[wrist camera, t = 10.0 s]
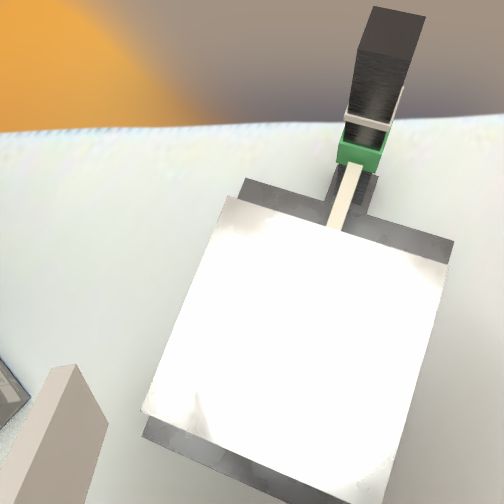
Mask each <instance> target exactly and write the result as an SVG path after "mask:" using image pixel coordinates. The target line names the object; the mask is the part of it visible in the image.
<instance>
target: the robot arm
mask: <svg viewBox="0 0 504 504" xmlns="http://www.w3.org/2000/svg"><path fill="white" fill-rule="evenodd" d="M108 424H109V423H108V422H107V420H106V418H105V416H104V414H103V412H102V411H101V409H100V407H99V405H98V403H97V401H96V400H95V398H94V396H93V394H92V392H91V390H90V389H89V387H88V385H87V383H86V381H85V379H84V378H83V376H82V374H81V372H80V370H79V368H78V367H77V365H76V364H72V365H66V366H60V367H55V368H52V369H51V371H50V373H49V375H48V377H47V379H46V381H45V383H44V385H43V387H42V389H41V390H40V392H39V394H38V396H37V398H36V400H35V402H34V404H33V406H32V408H31V410H30V412H29V414H28V416H27V418H26V420H25V422H24V424H23V426H22V428H21V430H20V432H19V434H18V436H17V438H16V439H15V441H14V443H13V445H12V447H11V449H10V451H9V453H8V455H7V457H6V459H5V461H4V463H3V465H2V467H1V469H0V504H84V502H85V499H86V496H87V493H88V489H89V486H90V483H91V480H92V476H93V473H94V470H95V467H96V463H97V460H98V457H99V454H100V450H101V447H102V444H103V441H104V437H105V434H106V431H107V428H108Z"/></svg>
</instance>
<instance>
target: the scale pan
mask: <svg viewBox="0 0 504 504" xmlns="http://www.w3.org/2000/svg"><path fill="white" fill-rule="evenodd" d="M362 168H363V166H362V165H359V164H355V163H352V162H348V165H347V168H346V171H345V174H344V177H343V179H342V182H341V185H340V188H339V191H338V194H337V196H336V199H335V202H334V205H333V208H332V211H331V213H330V216H329V219H328V222H327V225H326V227H325V226H322V225H319V224H316V223H313V222H310V221H306V220H303V219H300V218H297V217H294V216H291V215H287V214H284V213H281V212H278V211H275V210H272V209H268V208H265V207H262V206H259V205H256V204H253V203H249V202H246V201H243V200H240V199H237V198H234V197H230V196H227V199H226V201H225V204H224V206H223V209H222V211H221V214H220V216H219V218H218V221H217V223H216V226H215V228H214V231H213V233H212V236H211V238H210V240H209V243H208V245H207V248H206V250H205V253H204V255H203V258H202V260H201V263H200V265H199V267H198V270H197V272H196V275H195V277H194V280H193V282H192V285H191V287H190V290H189V292H188V294H187V297H186V299H185V302H184V304H183V307H182V309H181V312H180V314H179V317H178V319H177V321H176V324H175V326H174V329H173V331H172V334H171V336H170V339H169V341H168V344H167V346H166V348H165V351H164V353H163V356H162V358H161V361H160V363H159V366H158V368H157V370H156V373H155V375H154V378H153V380H152V383H151V385H150V388H149V390H148V393H147V395H146V397H145V400H144V402H143V405H142V407H141V410H140V411H142V412H144V413H146V414H148V415H151V416H153V417H155V418H158V419H160V420H162V421H164V422H167V423H169V424H171V425H173V426H176V427H178V428H180V429H183V430H185V431H187V432H189V433H192V434H194V435H196V436H198V437H201V438H203V439H205V440H208V441H210V442H212V443H214V444H217V445H219V446H221V447H223V448H226V449H228V450H230V451H232V452H235V453H237V454H239V455H242V456H244V457H246V458H248V459H251V460H253V461H255V462H257V463H260V464H262V465H264V466H267V467H269V468H271V469H273V470H276V471H278V472H280V473H282V474H285V475H287V476H289V477H292V478H294V479H296V480H298V481H301V482H303V483H305V484H307V485H310V486H312V487H314V488H316V489H319V490H321V491H323V492H326V493H328V494H330V495H332V496H335V497H337V498H339V499H341V500H344V501H346V502H348V503H351V504H382V501H383V497H384V494H385V490H386V487H387V483H388V480H389V476H390V473H391V469H392V466H393V462H394V459H395V455H396V452H397V448H398V445H399V441H400V438H401V434H402V431H403V427H404V424H405V420H406V417H407V413H408V410H409V406H410V403H411V399H412V396H413V392H414V389H415V385H416V382H417V378H418V375H419V371H420V368H421V364H422V361H423V357H424V354H425V350H426V347H427V343H428V340H429V336H430V333H431V329H432V326H433V322H434V319H435V315H436V312H437V308H438V305H439V301H440V298H441V294H442V291H443V287H444V284H445V280H446V277H447V273H448V270H449V265H446V264H443V263H440V262H436V261H433V260H430V259H427V258H424V257H421V256H417V255H414V254H411V253H408V252H405V251H402V250H398V249H395V248H392V247H389V246H386V245H383V244H379V243H376V242H373V241H370V240H367V239H364V238H360V237H357V236H354V235H351V234H348V233H345V232H341V229H342V226H343V224H344V221H345V218H346V215H347V212H348V209H349V206H350V203H351V200H352V197H353V194H354V192H355V189H356V186H357V183H358V180H359V177H360V174H361V171H362Z"/></svg>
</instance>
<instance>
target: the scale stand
mask: <svg viewBox="0 0 504 504" xmlns="http://www.w3.org/2000/svg"><path fill="white" fill-rule="evenodd" d="M425 18H426V17H425V16H420V15H415V14H410V13H406V12H400V11H396V10H391V9H386V8H381V7H377V6H373V9H372V11H371V14H370V17H369V20H368V22H367V25H366V28H365V30H364V33H363V36H362V39H361V41H360V44H359V47H358V50H357V56H356V63H355V68H354V74H353V80H352V87H351V93H350V99H349V104H348V106H347V109H346V112H345V114H344V121H346V123H345V128H344V130H343V133H342V136H341V139H340V141H339V146H338V152H337V159H336V163H339V165H337V168H336V170H335V173H334V176H333V179H332V181H331V184H330V187H329V190H328V193H327V195H326V198H325V201H320V200H317V199H314V198H310V197H307V196H304V195H301V194H297V193H294V192H291V191H287V190H284V189H281V188H278V187H274V186H271V185H268V184H264V183H261V182H258V181H254V180H251V179H248V178H245V180H244V183H243V185H242V188H241V190H240V193H239V195H238V198H237V199H240V200H243V201H246V202H249V203H253V204H256V205H259V206H262V207H265V208H268V209H272V210H275V211H278V212H281V213H284V214H287V215H291V216H294V217H297V218H300V219H303V220H306V221H310V222H313V223H316V224H319V225H322V226H325V227H326V225H327V222H328V219H329V216H330V213H331V211H332V208H333V205H334V202H335V199H336V196H337V194H338V191H339V188H340V185H341V182H342V179H343V177H344V174H345V171H346V168H347V165H348V162H352V163H355V164H359V165H362V166H363V168H362V171H361V174H360V177H359V180H358V183H357V186H356V189H355V192H354V194H353V197H352V200H351V203H350V206H349V209H348V212H347V215H346V218H345V221H344V224H343V226H342V229H341V232H345V233H348V234H351V235H354V236H357V237H360V238H364V239H367V240H370V241H373V242H376V243H379V244H383V245H386V246H389V247H392V248H395V249H398V250H402V251H405V252H408V253H411V254H414V255H417V256H421V257H424V258H427V259H430V260H433V261H436V262H440V263H443V264H446V265H448V262H449V258H450V255H451V251H452V248H453V244H454V241H452V240H449V239H445V238H442V237H439V236H435V235H432V234H429V233H426V232H422V231H419V230H416V229H412V228H409V227H406V226H403V225H399V224H396V223H393V222H389V221H386V220H383V219H380V218H376V217H373V216H370V215H366V213H367V210H368V207H369V204H370V201H371V198H372V195H373V192H374V189H375V186H376V183H377V180H378V177H379V176H376V175H373V174H372V173H375V172H376V170H377V167H378V164H379V161H380V158H381V156H382V153H383V150H384V147H385V144H386V141H387V138H388V135H389V132H390V129H391V126H392V123H393V120H394V115H395V112H396V110H397V107H398V104H399V100H400V98H401V94H402V92H403V89H404V86H403V83H404V80H405V77H406V74H407V71H408V68H409V65H410V62H411V60H412V57H413V54H414V51H415V47H416V45H417V42H418V39H419V36H420V33H421V30H422V26H423V24H424V21H425ZM141 437H143V438H146V439H148V440H150V441H152V442H154V443H157V444H159V445H161V446H163V447H165V448H168V449H170V450H172V451H174V452H176V453H179V454H181V455H183V456H185V457H187V458H190V459H192V460H194V461H196V462H198V463H201V464H203V465H205V466H207V467H210V468H212V469H214V470H216V471H218V472H221V473H223V474H225V475H227V476H229V477H232V478H234V479H236V480H238V481H240V482H243V483H245V484H247V485H249V486H251V487H254V488H256V489H258V490H260V491H262V492H265V493H267V494H269V495H271V496H273V497H276V498H278V499H280V500H282V501H284V502H287V503H289V504H351V503H348V502H346V501H344V500H341V499H339V498H337V497H335V496H332V495H330V494H328V493H326V492H323V491H321V490H319V489H316V488H314V487H312V486H310V485H307V484H305V483H303V482H301V481H298V480H296V479H294V478H292V477H289V476H287V475H285V474H282V473H280V472H278V471H276V470H273V469H271V468H269V467H267V466H264V465H262V464H260V463H257V462H255V461H253V460H251V459H248V458H246V457H244V456H242V455H239V454H237V453H235V452H232V451H230V450H228V449H226V448H223V447H221V446H219V445H217V444H214V443H212V442H210V441H208V440H205V439H203V438H201V437H198V436H196V435H194V434H192V433H189V432H187V431H185V430H183V429H180V428H178V427H176V426H173V425H171V424H169V423H167V422H164V421H162V420H160V419H158V418H155V417H153V416H151V415H150V417H149V419H148V422H147V424H146V426H145V429H144V431H143V434H142V436H141Z"/></svg>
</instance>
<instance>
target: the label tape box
mask: <svg viewBox="0 0 504 504" xmlns="http://www.w3.org/2000/svg"><path fill="white" fill-rule="evenodd" d="M29 398H30V397H29V395H28V394H27V393H26V392H25V391H24V389H23V388H22V387H21V385H20V384H19V383H18V381H17V380H16V379H15V378H14V376H13V375H12V374H11V373H10V371H9V370H8V369H7V367H6V366H5V365H4V364H3V362H2V361H1V360H0V429H1V428H2V427H3V426H4V425H5V424H6V423H7V422H8V420H9V419H10V418H11V417H12V416H13V415H14V414H15V413H16V412H17V411H18V410H19V409H20V408H21V407H22V406H23V405H24V404H25V403H26V402H27V401H28V400H29Z"/></svg>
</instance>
